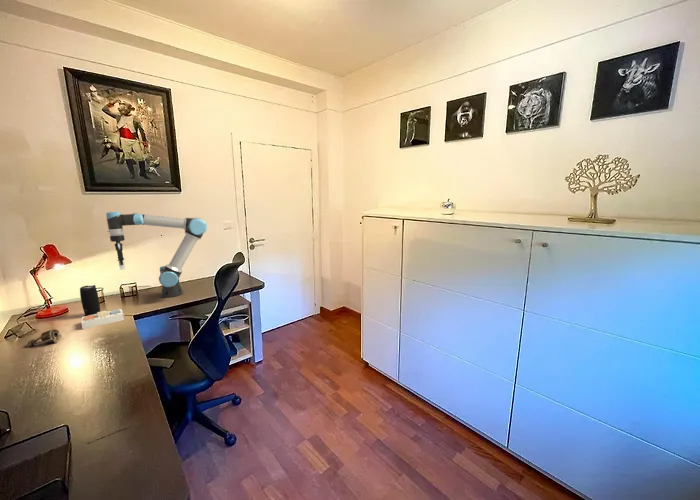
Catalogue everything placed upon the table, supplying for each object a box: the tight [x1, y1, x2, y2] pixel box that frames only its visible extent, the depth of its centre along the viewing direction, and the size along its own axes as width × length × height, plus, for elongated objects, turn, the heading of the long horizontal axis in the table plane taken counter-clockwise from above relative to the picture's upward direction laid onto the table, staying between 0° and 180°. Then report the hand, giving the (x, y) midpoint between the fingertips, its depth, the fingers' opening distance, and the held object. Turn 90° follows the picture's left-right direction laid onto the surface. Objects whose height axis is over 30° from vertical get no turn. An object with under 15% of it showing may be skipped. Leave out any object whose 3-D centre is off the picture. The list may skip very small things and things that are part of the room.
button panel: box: [81, 308, 125, 330], centre depth 180 cm, size 19×12×4 cm, turn 131°
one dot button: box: [109, 309, 120, 315], centre depth 183 cm, size 4×4×3 cm
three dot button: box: [83, 315, 95, 320], centre depth 176 cm, size 4×4×3 cm
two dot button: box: [97, 310, 108, 317], centre depth 179 cm, size 4×4×3 cm
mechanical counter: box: [26, 328, 63, 348], centre depth 153 cm, size 7×13×10 cm
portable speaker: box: [79, 284, 101, 316], centre depth 190 cm, size 8×9×19 cm
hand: (122, 269), depth 201 cm, fingers closed
